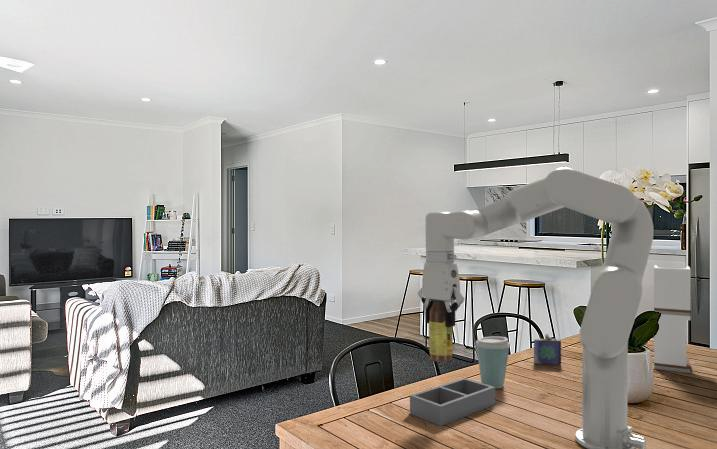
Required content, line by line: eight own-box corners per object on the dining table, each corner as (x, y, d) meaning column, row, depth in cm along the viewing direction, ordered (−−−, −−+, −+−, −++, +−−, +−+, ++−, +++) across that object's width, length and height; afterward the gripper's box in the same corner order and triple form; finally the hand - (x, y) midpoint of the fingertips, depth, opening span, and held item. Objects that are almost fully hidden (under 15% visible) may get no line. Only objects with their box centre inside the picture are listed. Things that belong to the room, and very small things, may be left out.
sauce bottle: (452, 363, 136) (451, 288, 135) (428, 362, 137) (427, 287, 137) (453, 357, 142) (452, 284, 142) (430, 355, 143) (429, 284, 143)
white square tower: (690, 373, 174) (690, 269, 174) (654, 368, 180) (654, 267, 179) (688, 364, 184) (688, 266, 184) (654, 360, 190) (654, 265, 189)
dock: (495, 404, 147) (495, 387, 146) (440, 426, 132) (440, 406, 132) (464, 394, 155) (464, 377, 155) (409, 413, 140) (409, 395, 140)
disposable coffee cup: (475, 389, 159) (474, 341, 159) (475, 378, 170) (475, 333, 170) (510, 392, 157) (510, 342, 157) (509, 381, 167) (509, 334, 167)
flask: (534, 364, 186) (534, 334, 185) (533, 362, 188) (533, 333, 188) (561, 366, 183) (561, 336, 183) (560, 364, 186) (560, 334, 186)
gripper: (474, 258, 135) (475, 327, 135) (425, 255, 148) (426, 318, 149) (455, 260, 130) (456, 331, 131) (407, 257, 144) (407, 321, 144)
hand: (440, 323), depth 140 cm, fingers closed on sauce bottle, 6 cm apart
